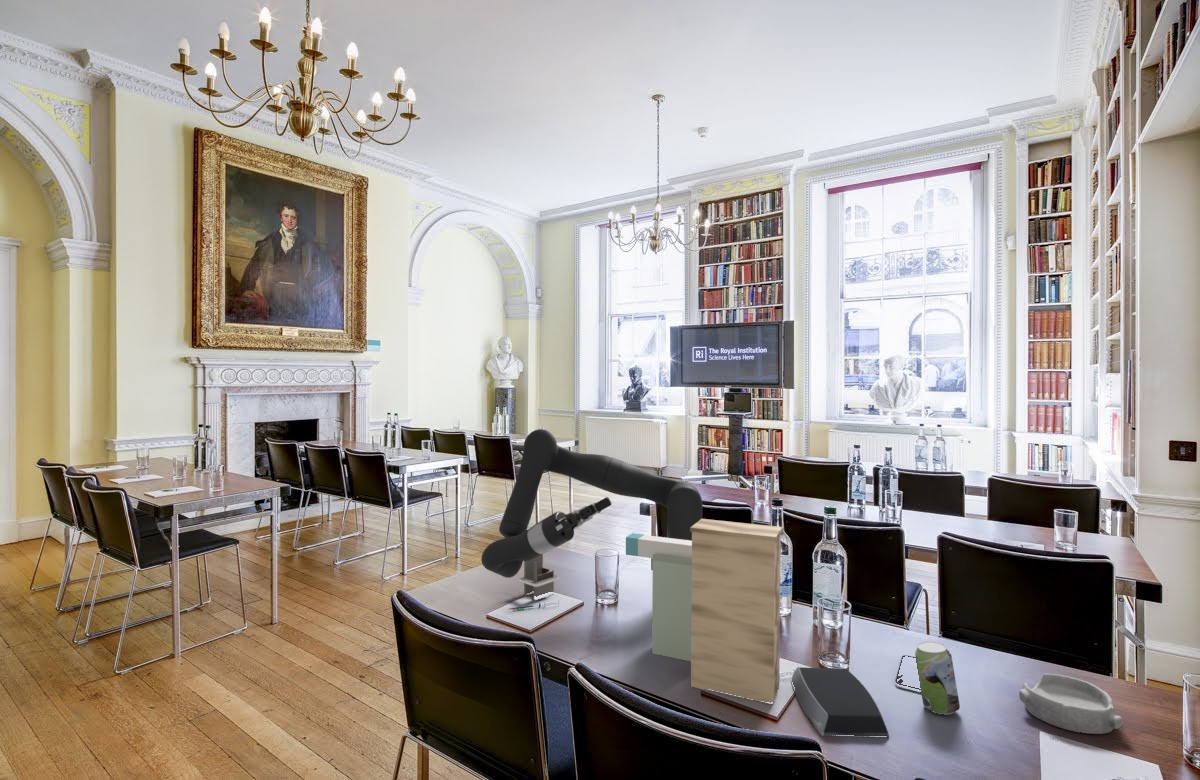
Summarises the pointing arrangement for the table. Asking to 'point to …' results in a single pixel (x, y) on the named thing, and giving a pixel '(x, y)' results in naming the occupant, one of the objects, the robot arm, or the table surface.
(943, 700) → the beverage can
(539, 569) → the architectural model
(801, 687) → the external hard drive
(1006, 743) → the table surface
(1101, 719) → the dish
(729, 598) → the oak stand
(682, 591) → the sage green upright box
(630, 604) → the table surface
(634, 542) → the white teal square bar
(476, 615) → the table surface
